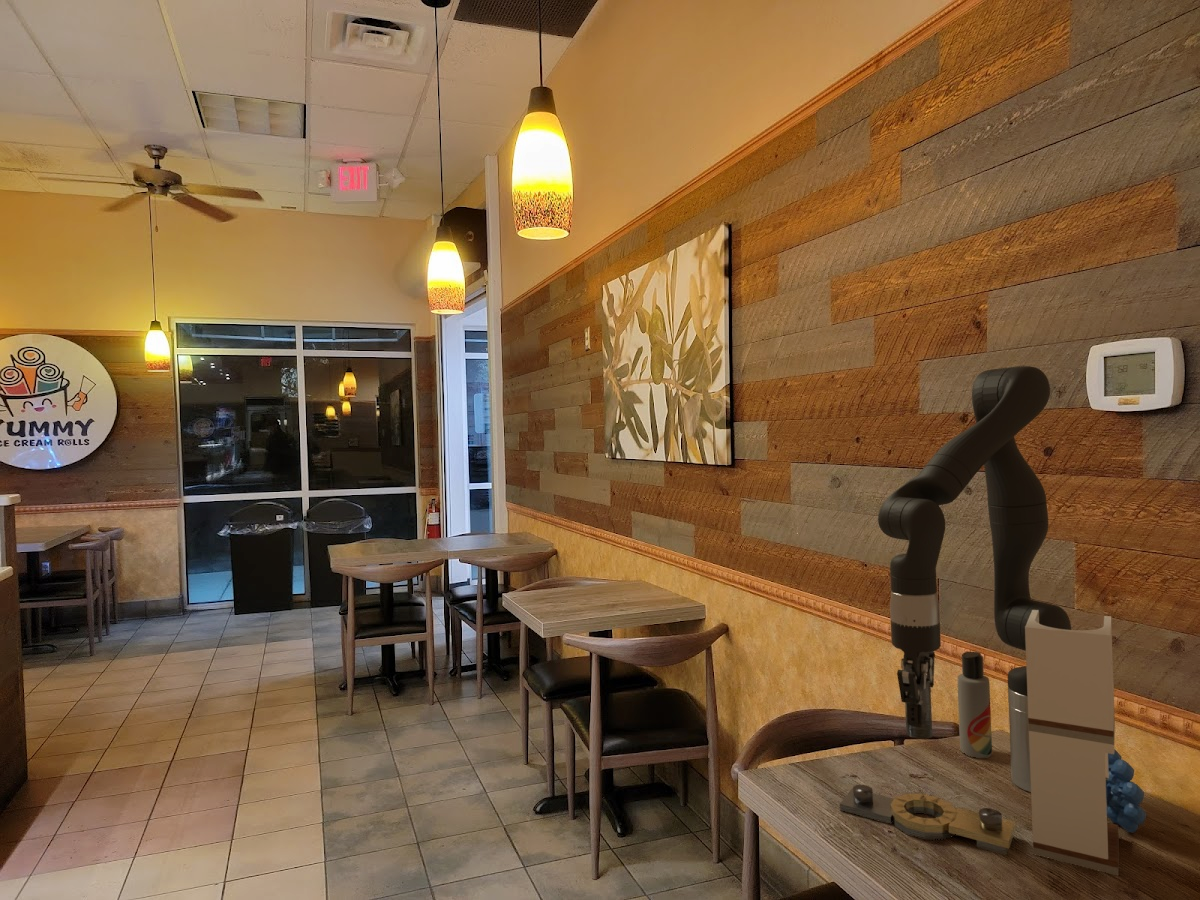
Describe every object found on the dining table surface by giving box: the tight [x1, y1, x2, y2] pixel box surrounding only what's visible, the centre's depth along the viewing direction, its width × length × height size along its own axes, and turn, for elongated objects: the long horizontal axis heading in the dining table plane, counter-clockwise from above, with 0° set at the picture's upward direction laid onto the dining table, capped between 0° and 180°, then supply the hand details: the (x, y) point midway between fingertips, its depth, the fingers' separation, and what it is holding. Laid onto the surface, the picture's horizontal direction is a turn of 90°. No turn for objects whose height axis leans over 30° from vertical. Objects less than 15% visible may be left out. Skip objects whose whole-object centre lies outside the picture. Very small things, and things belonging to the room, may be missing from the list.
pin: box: [904, 679, 933, 740], centre depth 123 cm, size 4×4×9 cm
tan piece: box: [839, 784, 1017, 856], centre depth 124 cm, size 10×26×4 cm, turn 53°
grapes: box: [1106, 748, 1147, 834], centre depth 120 cm, size 12×7×12 cm, turn 178°
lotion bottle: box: [956, 651, 993, 759], centre depth 148 cm, size 6×6×20 cm
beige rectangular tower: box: [1025, 610, 1120, 877], centre depth 115 cm, size 11×11×35 cm
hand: (919, 720), depth 123 cm, fingers closed on pin, 4 cm apart
